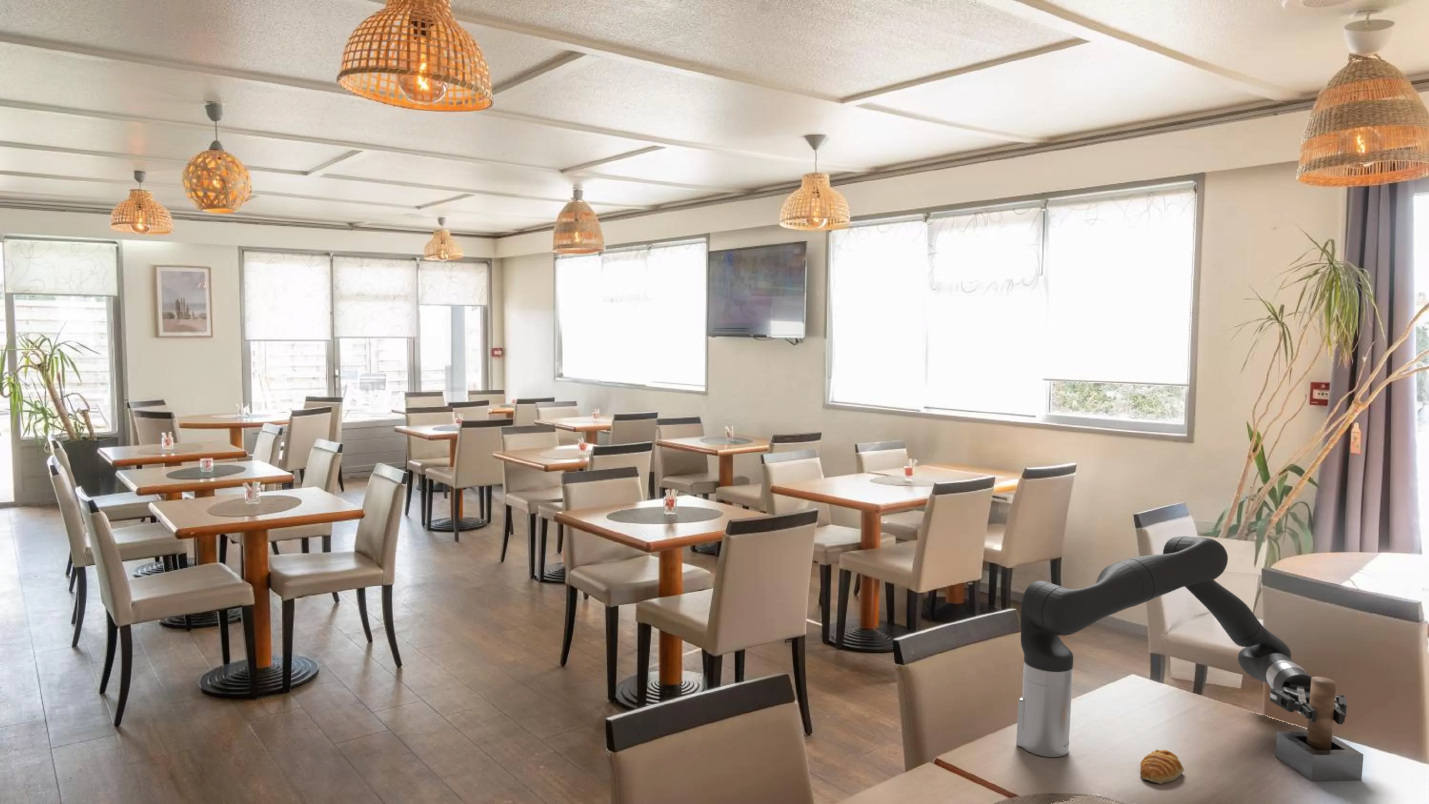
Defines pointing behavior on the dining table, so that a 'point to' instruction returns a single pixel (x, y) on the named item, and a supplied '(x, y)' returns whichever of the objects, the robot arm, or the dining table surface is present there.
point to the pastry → (1161, 767)
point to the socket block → (1319, 758)
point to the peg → (1321, 713)
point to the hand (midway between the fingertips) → (1327, 717)
